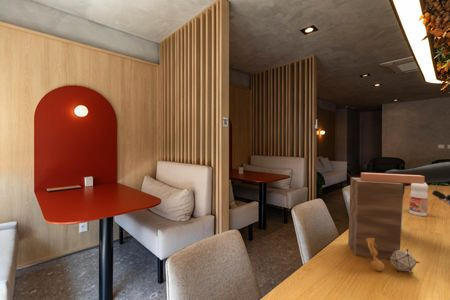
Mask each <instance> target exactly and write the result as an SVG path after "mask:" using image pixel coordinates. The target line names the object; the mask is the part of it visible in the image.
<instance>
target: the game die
mask: <svg viewBox="0 0 450 300" xmlns="http://www.w3.org/2000/svg"><path fill="white" fill-rule="evenodd" d="M393 249H394V252H393V254H392V255H391V257H390V261H389V262H391V263H392V265H393V266H395V268H396V269H397V270H396V271H397V272H396V273H399V272H401V271H402V272H410V273H411V274H413V269H414V268H415V266H416V264H420V263H421V262H420V261H416V259H415V257H413V256H412V255H411V253H410V251H409V248H407V249H406V250H401V249H400V250H395V248H393ZM387 259H388V260H389V258H387ZM388 260H387V261H388Z"/></svg>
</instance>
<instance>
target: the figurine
mask: <svg viewBox="0 0 450 300" xmlns="http://www.w3.org/2000/svg"><path fill="white" fill-rule="evenodd" d="M366 241H367V243H368V247H369V249H370V252H371V255H373V253H374V255H373V258H372V259H373V260H372V261H371V266H372V267H371V268H372V269H374V270H375V271H377V272H382V271H383V270H384V268H385V265H384V263H383V261H382V260H381V259H378V258H377V257H376V255H377V254H378V251H377V250H376V249H375V248H374V245H375V243H374V241H375V240H374V238H367V239H366ZM375 246H376V245H375ZM376 247H377V246H376Z"/></svg>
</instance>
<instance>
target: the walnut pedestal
mask: <svg viewBox="0 0 450 300" xmlns="http://www.w3.org/2000/svg"><path fill="white" fill-rule="evenodd" d="M349 183H350V187H349V207H348V208H349V211H348V213H349V214H348V238H347V239H348V243H347V244H348V246H349V247H350V249H351V251H352V253H353V254H354V256H355V257H360V258H366V259H367V258H369V259H374V258H373V255H374V253H373V255H371V252H370V249H369V247H368V243H367V241H366V239H367V238H374V240H375V241H374V243H375V245H376V246H377V247H376V246H375V245H374V248H375V249H376V250H377V251H378V254H377V255H376V257H377V258H378V259H379V260H380V261H382V260H383V261H387V262H388V261H389V262H391V261H390V257H391V255H392V254H393V252H394V249H393V248H395V250H401V237H402V236H401V235H402V234H401V233H402V229H401V219H402V220H403V212H402V197H403V198H404V195H403V184H401V183H399V182H383V181H366V180H361V177H354V176H353V177H350V182H349ZM387 258H389V260H388V259H387Z"/></svg>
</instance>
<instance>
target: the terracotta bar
mask: <svg viewBox="0 0 450 300" xmlns="http://www.w3.org/2000/svg"><path fill="white" fill-rule="evenodd" d="M360 178H361V180H366V181H383V182H400V183H410V184H412V183H418V184H424V178H425V177H424V176H420V175H402V174H384V173H380V172H379V173H377V172H360Z"/></svg>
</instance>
